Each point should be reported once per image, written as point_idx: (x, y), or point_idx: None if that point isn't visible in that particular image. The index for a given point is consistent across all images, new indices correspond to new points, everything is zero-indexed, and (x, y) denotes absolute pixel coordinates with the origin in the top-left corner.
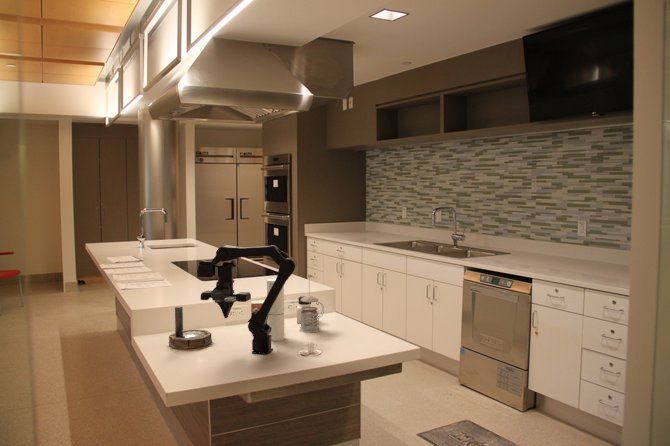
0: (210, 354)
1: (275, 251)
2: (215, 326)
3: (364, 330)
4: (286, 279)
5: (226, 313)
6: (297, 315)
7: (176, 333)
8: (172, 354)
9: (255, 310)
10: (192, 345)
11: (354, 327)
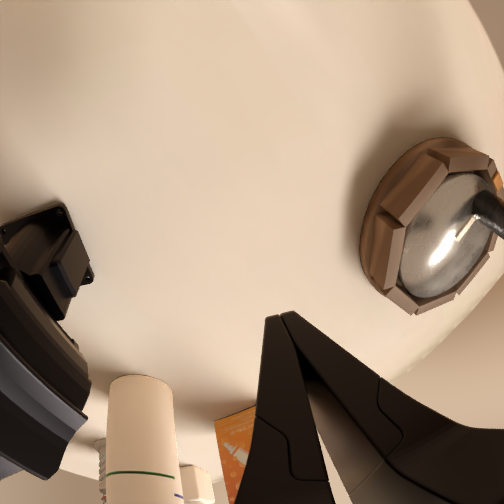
0: (278, 93)
1: None
2: (394, 378)
3: None
4: None
5: (275, 365)
6: (194, 482)
7: (499, 197)
8: (439, 62)
9: (12, 462)
10: (415, 163)
11: (61, 463)
